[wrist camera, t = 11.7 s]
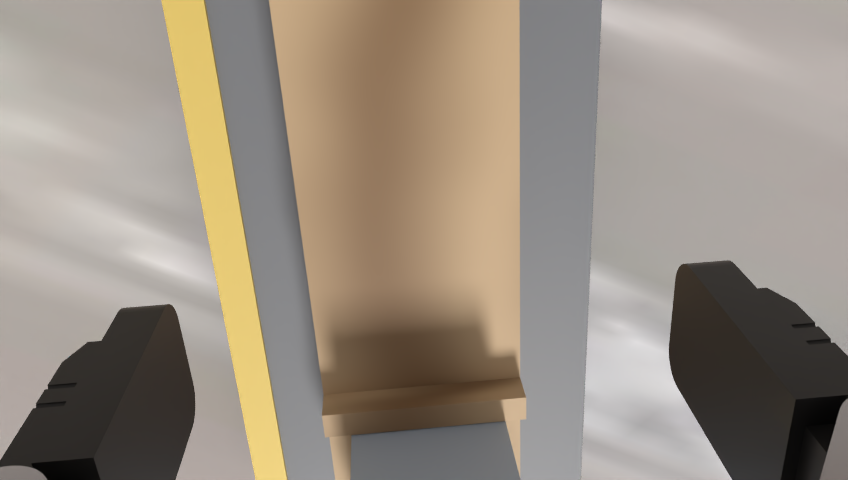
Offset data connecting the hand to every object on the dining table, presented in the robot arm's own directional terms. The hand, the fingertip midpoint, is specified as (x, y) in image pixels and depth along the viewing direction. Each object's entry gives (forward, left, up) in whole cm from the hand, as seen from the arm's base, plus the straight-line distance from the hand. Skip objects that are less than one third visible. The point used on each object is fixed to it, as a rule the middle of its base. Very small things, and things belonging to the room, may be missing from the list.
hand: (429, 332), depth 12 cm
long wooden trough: (0, 0, -13) cm, 13 cm away
